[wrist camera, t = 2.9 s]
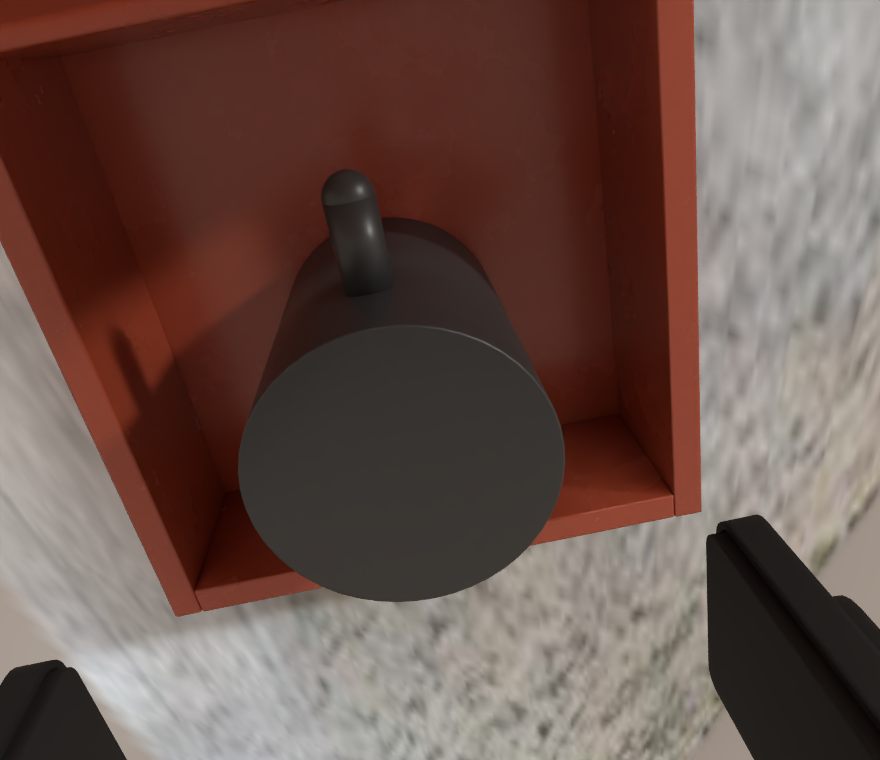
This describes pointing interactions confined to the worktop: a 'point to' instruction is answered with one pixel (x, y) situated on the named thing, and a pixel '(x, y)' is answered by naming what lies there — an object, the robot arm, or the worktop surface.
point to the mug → (397, 415)
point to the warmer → (304, 228)
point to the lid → (39, 7)
